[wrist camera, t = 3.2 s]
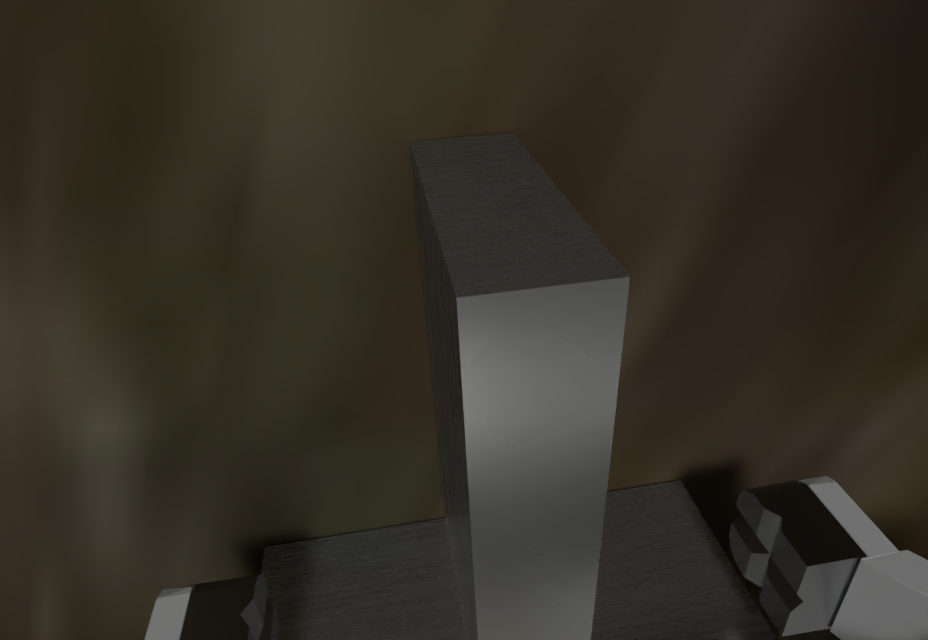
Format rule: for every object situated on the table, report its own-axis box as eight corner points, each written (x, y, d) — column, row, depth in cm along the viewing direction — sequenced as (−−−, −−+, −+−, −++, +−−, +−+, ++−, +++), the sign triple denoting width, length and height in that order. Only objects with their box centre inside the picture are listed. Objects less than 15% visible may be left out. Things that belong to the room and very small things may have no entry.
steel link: (136, 168, 9) (-30, 358, 5) (753, 109, 10) (1020, 228, 6) (334, 753, 18) (331, 976, 14) (638, 692, 19) (712, 886, 15)
